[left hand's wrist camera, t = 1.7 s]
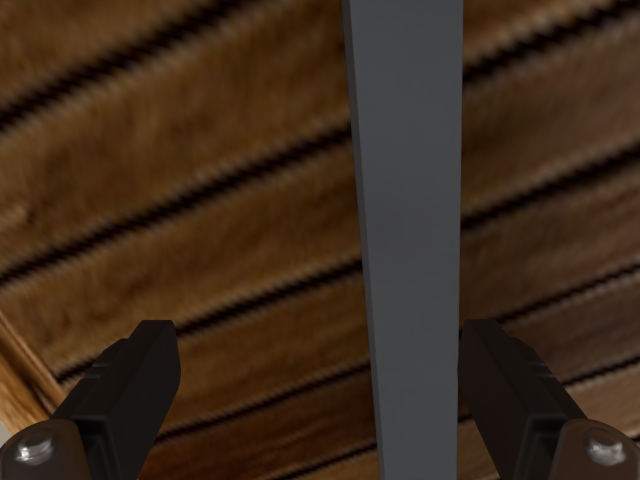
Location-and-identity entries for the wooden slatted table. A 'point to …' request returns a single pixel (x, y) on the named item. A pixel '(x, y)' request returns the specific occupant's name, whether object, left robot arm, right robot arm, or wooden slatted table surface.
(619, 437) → the left robot arm
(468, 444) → the wooden slatted table surface
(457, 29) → the bar
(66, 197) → the wooden slatted table surface
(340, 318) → the wooden slatted table surface
